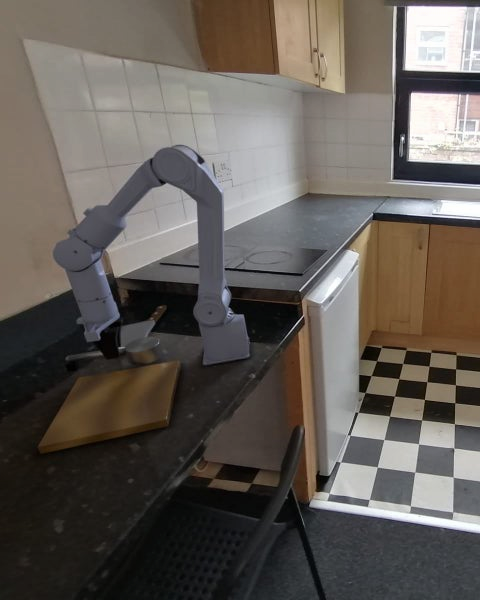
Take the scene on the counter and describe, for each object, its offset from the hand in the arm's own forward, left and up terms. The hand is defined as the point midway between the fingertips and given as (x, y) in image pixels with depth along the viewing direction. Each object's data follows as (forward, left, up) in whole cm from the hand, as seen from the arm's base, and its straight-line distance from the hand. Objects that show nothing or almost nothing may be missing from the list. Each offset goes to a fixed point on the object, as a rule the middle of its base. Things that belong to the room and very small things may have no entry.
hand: (114, 355), depth 84 cm
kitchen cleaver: (-1, -18, -3) cm, 18 cm away
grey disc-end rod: (0, 0, -2) cm, 2 cm away
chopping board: (-3, +14, -3) cm, 15 cm away
